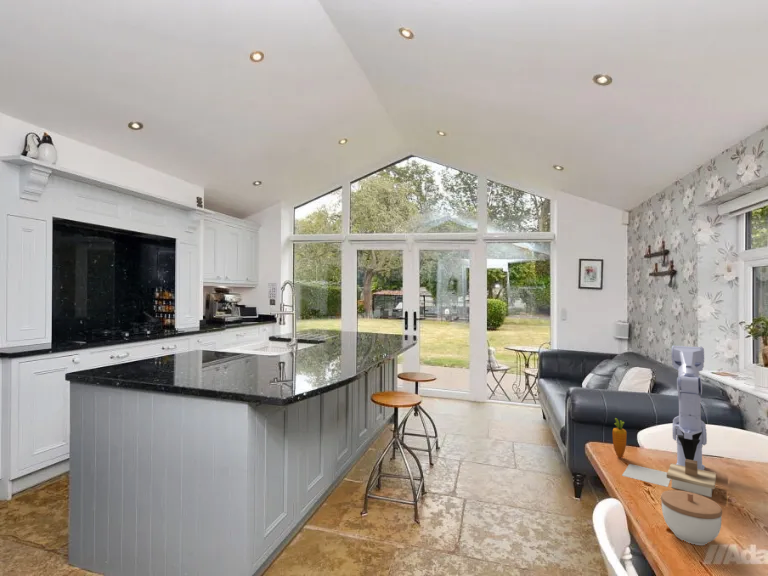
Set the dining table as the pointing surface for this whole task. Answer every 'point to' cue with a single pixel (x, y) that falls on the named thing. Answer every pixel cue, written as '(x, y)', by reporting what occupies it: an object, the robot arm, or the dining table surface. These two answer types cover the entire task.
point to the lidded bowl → (691, 516)
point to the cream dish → (692, 488)
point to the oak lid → (692, 474)
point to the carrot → (619, 438)
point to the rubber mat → (647, 475)
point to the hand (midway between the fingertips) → (690, 455)
